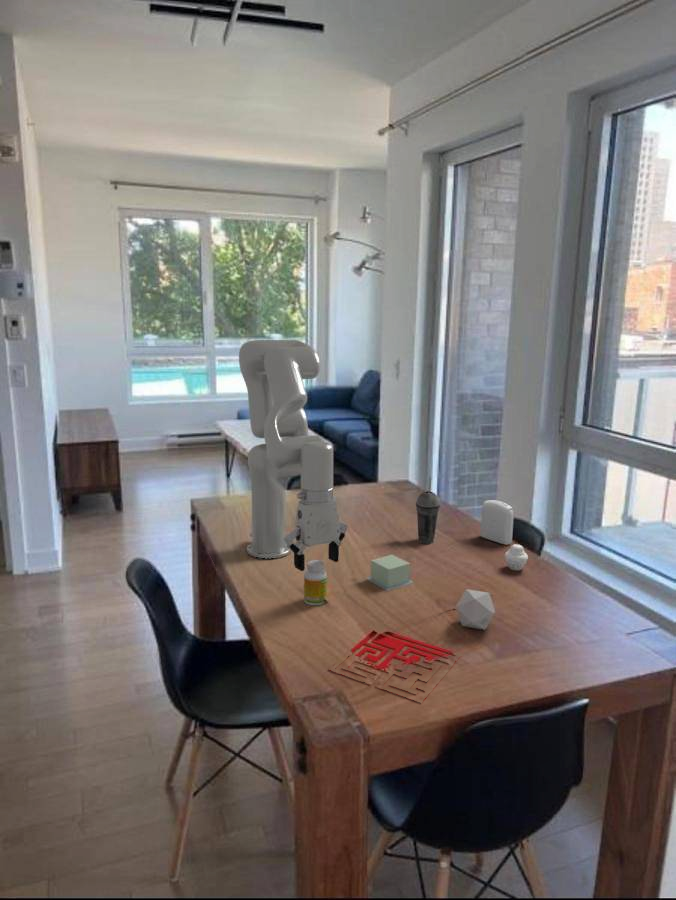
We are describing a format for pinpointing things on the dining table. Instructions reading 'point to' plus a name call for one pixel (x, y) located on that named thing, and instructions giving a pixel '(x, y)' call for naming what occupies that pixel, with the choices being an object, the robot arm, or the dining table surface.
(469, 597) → the die
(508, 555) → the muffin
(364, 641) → the maze puzzle
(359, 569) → the dining table surface
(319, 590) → the supplement bottle
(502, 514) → the photo printer
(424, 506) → the beverage cup
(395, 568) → the base block
